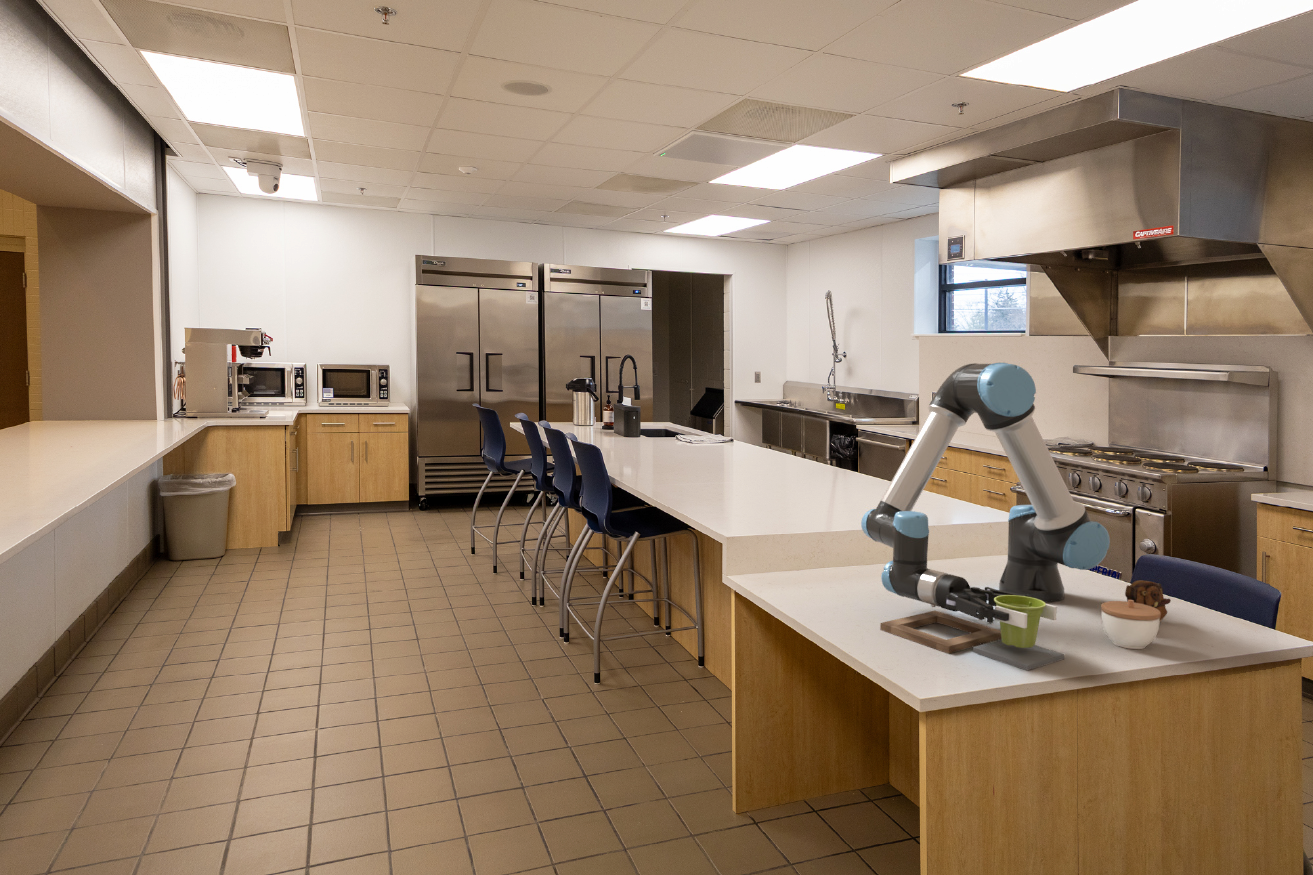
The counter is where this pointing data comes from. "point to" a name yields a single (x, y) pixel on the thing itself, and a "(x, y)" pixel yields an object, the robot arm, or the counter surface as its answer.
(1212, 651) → the counter surface
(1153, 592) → the wooden carving
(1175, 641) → the counter surface
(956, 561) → the counter surface
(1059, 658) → the charcoal mat
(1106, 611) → the lidded jar
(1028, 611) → the plant pot
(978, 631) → the walnut frame
